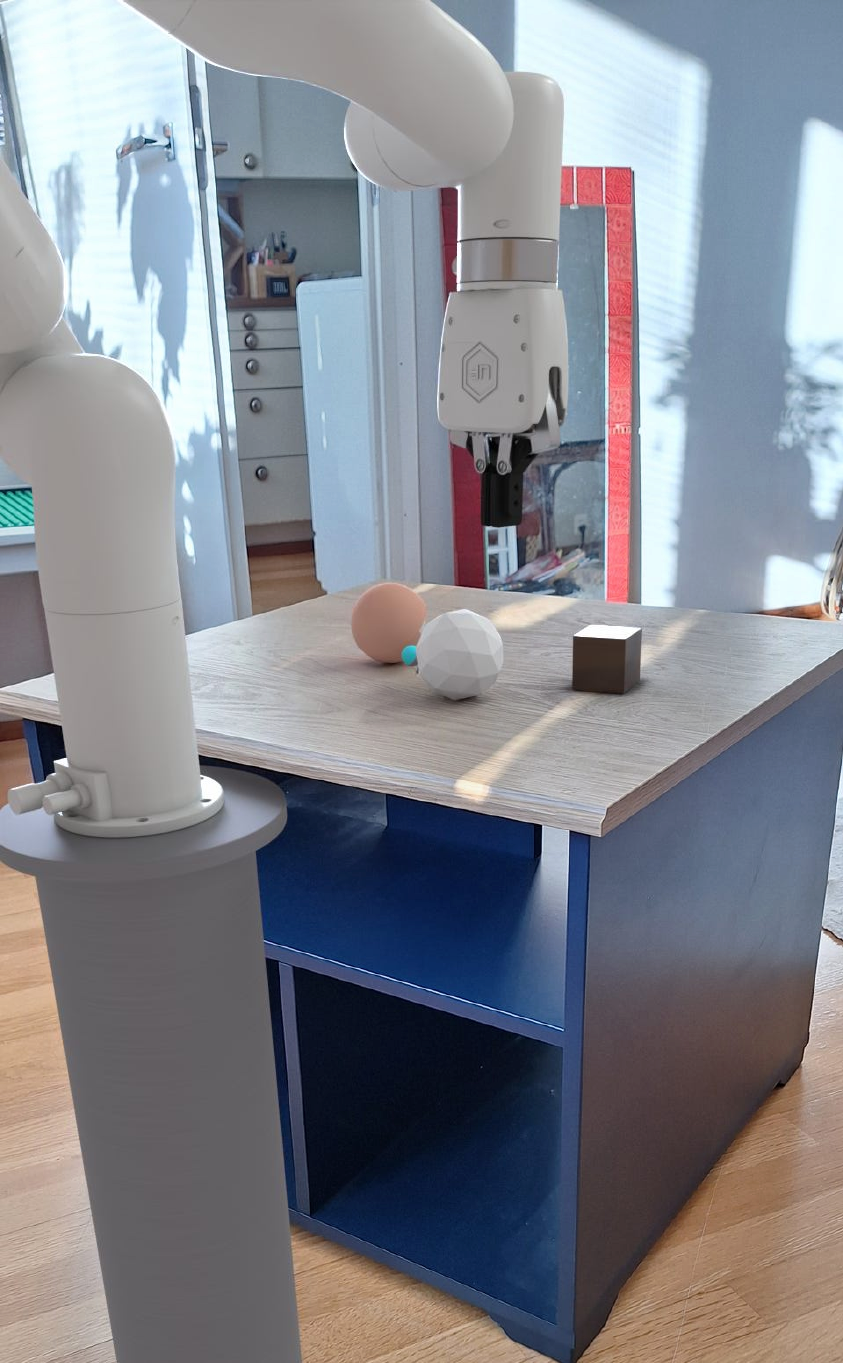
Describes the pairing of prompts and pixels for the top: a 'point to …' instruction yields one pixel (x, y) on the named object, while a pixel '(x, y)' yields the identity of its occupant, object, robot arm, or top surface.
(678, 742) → the top surface
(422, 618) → the toy ball
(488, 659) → the white faceted ball
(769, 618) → the top surface
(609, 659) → the walnut block
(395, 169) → the robot arm
